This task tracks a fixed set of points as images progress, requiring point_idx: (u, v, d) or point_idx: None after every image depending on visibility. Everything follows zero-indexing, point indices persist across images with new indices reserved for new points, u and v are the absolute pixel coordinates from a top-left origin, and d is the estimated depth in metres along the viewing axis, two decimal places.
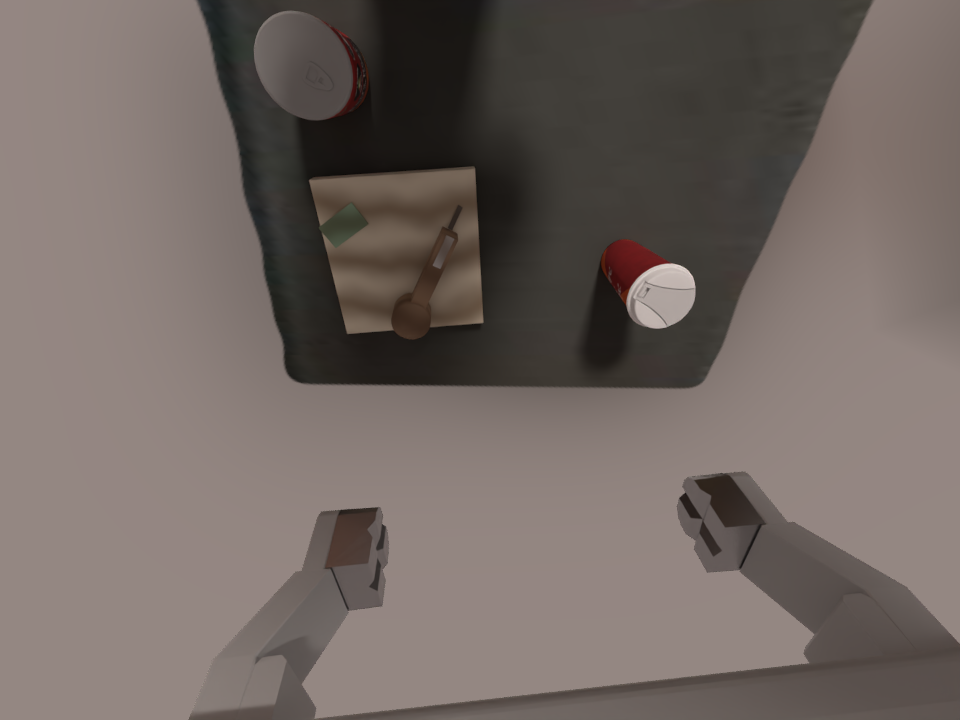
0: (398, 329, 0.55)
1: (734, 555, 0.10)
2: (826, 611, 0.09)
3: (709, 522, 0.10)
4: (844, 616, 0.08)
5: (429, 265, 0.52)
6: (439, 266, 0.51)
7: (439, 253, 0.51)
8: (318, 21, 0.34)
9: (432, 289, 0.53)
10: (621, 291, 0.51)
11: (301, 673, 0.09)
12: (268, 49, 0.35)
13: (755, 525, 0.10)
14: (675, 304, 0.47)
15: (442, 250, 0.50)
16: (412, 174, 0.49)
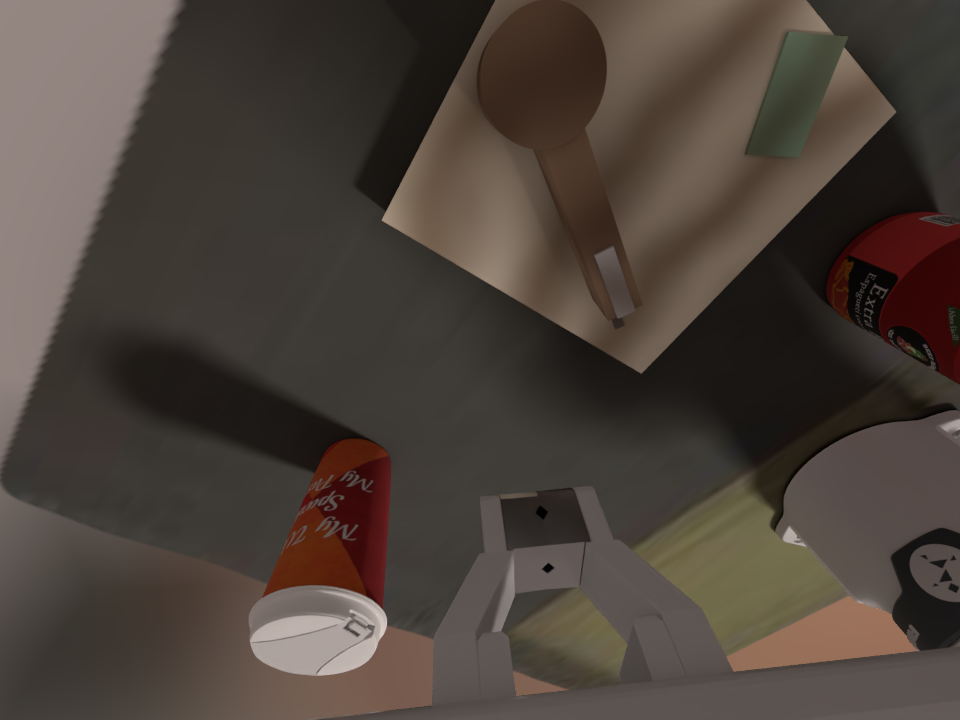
0: (552, 18, 0.16)
1: (569, 572, 0.10)
2: None
3: None
4: (634, 639, 0.08)
5: (617, 238, 0.21)
6: (600, 258, 0.21)
7: (620, 277, 0.22)
8: None
9: (568, 204, 0.20)
10: (347, 544, 0.26)
11: None
12: None
13: (581, 542, 0.10)
14: (298, 655, 0.24)
15: (620, 286, 0.22)
16: (719, 290, 0.27)
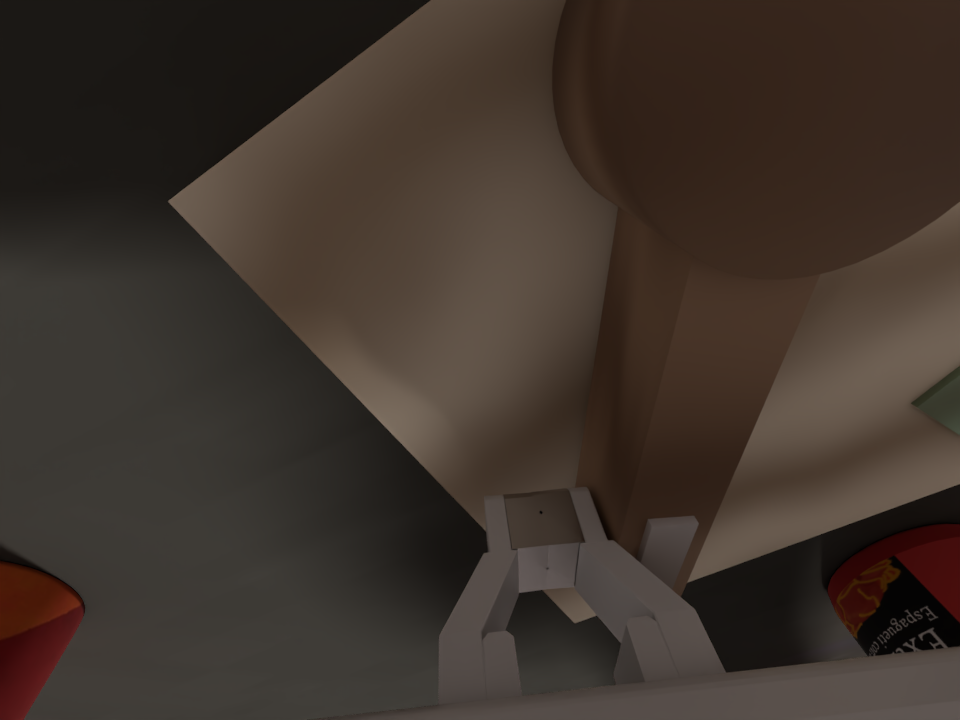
0: None
1: (563, 573, 0.10)
2: None
3: None
4: (627, 640, 0.08)
5: (711, 508, 0.09)
6: (659, 534, 0.09)
7: (672, 572, 0.10)
8: None
9: (666, 412, 0.07)
10: None
11: None
12: None
13: (575, 543, 0.10)
14: None
15: None
16: (743, 560, 0.17)
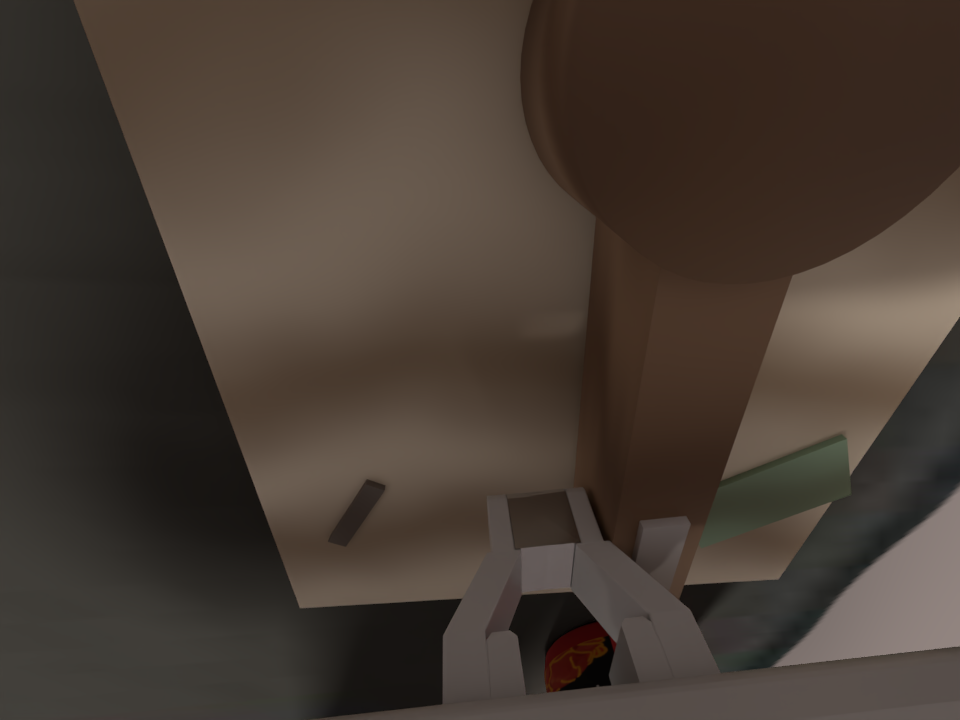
0: None
1: (560, 573, 0.10)
2: None
3: None
4: (622, 640, 0.08)
5: (703, 507, 0.09)
6: (651, 535, 0.09)
7: (669, 572, 0.10)
8: None
9: (648, 416, 0.07)
10: None
11: None
12: None
13: (571, 544, 0.10)
14: None
15: None
16: None
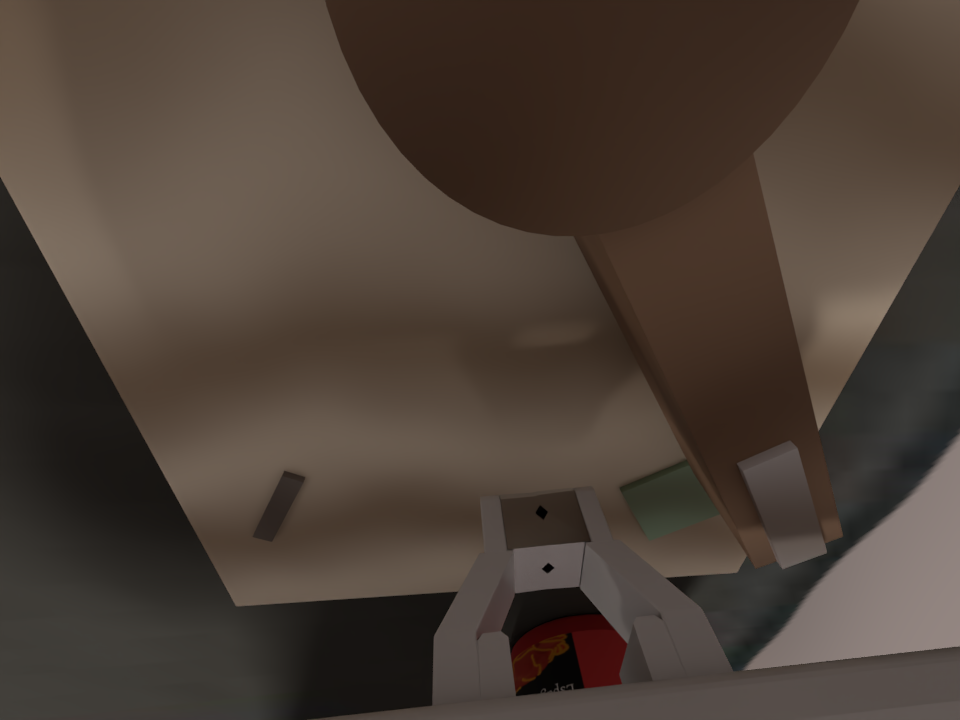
0: None
1: (569, 572, 0.10)
2: None
3: None
4: (634, 639, 0.08)
5: (805, 425, 0.08)
6: (757, 474, 0.08)
7: (803, 502, 0.09)
8: None
9: (677, 364, 0.07)
10: None
11: None
12: None
13: (581, 542, 0.10)
14: None
15: (800, 517, 0.09)
16: (436, 590, 0.16)
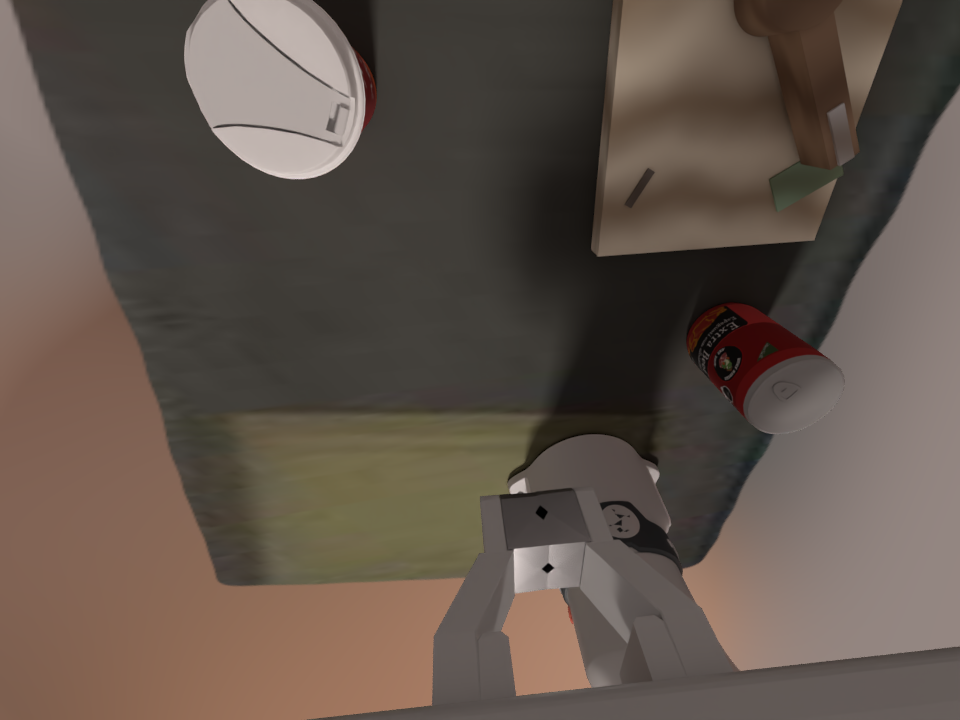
0: None
1: (569, 572, 0.10)
2: None
3: None
4: (634, 639, 0.08)
5: (846, 96, 0.28)
6: (832, 114, 0.28)
7: (846, 128, 0.29)
8: (760, 429, 0.36)
9: (813, 73, 0.27)
10: None
11: None
12: (817, 408, 0.36)
13: (581, 542, 0.10)
14: (239, 79, 0.18)
15: (845, 136, 0.29)
16: (681, 248, 0.37)
